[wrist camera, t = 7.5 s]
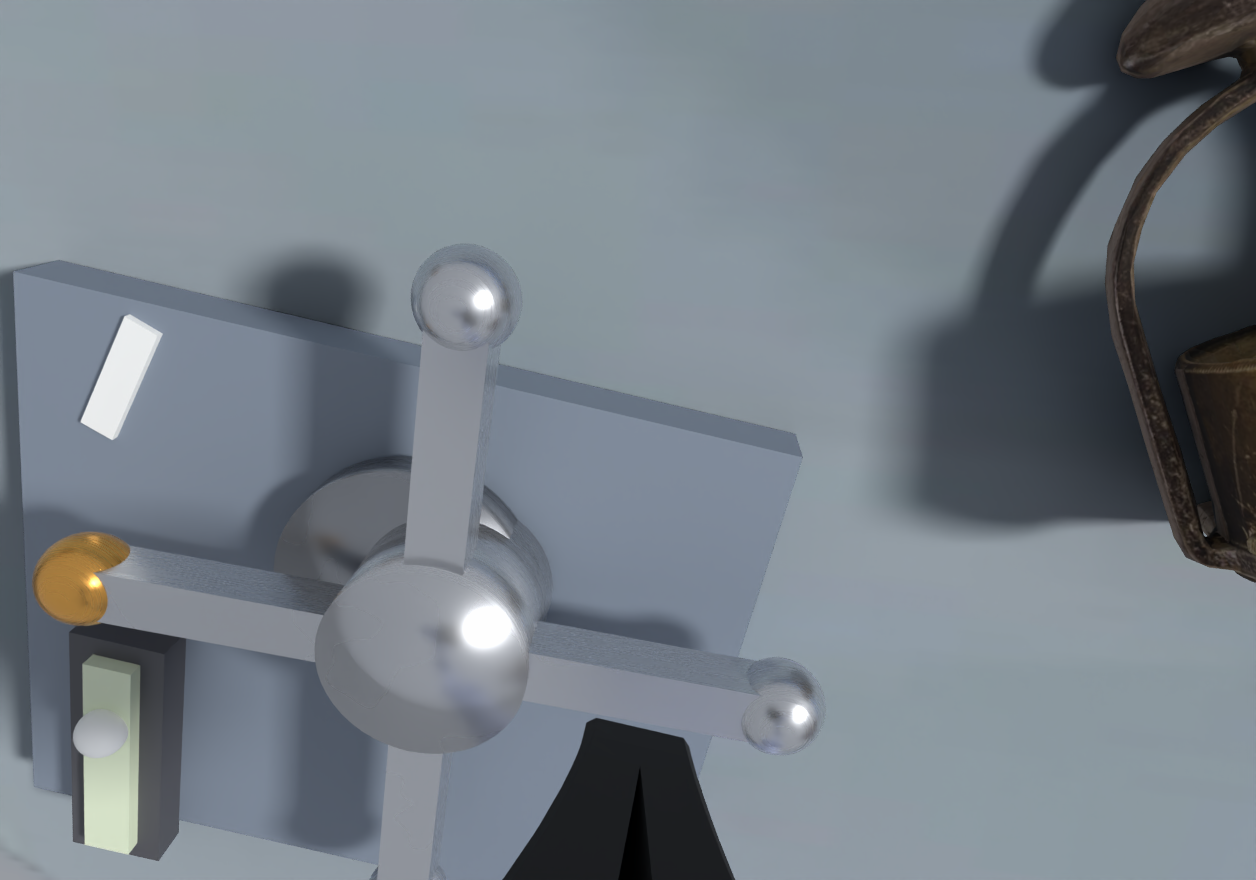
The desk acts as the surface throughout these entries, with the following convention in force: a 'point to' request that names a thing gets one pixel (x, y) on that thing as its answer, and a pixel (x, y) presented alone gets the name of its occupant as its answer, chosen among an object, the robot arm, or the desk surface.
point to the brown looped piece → (1222, 367)
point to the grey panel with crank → (254, 520)
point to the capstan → (429, 594)
